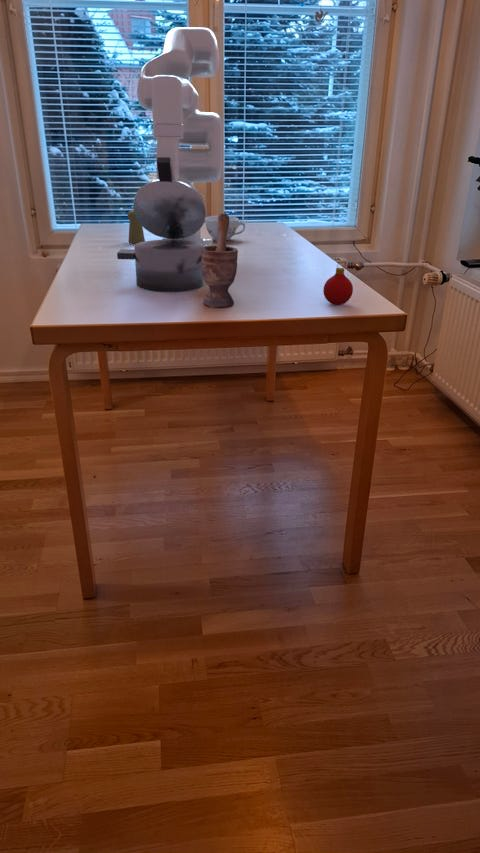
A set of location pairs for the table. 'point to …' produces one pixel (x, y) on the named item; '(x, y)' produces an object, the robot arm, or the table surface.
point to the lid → (169, 205)
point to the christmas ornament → (338, 288)
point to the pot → (166, 264)
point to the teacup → (233, 225)
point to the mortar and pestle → (219, 267)
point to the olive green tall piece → (135, 229)
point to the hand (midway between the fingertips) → (170, 209)
